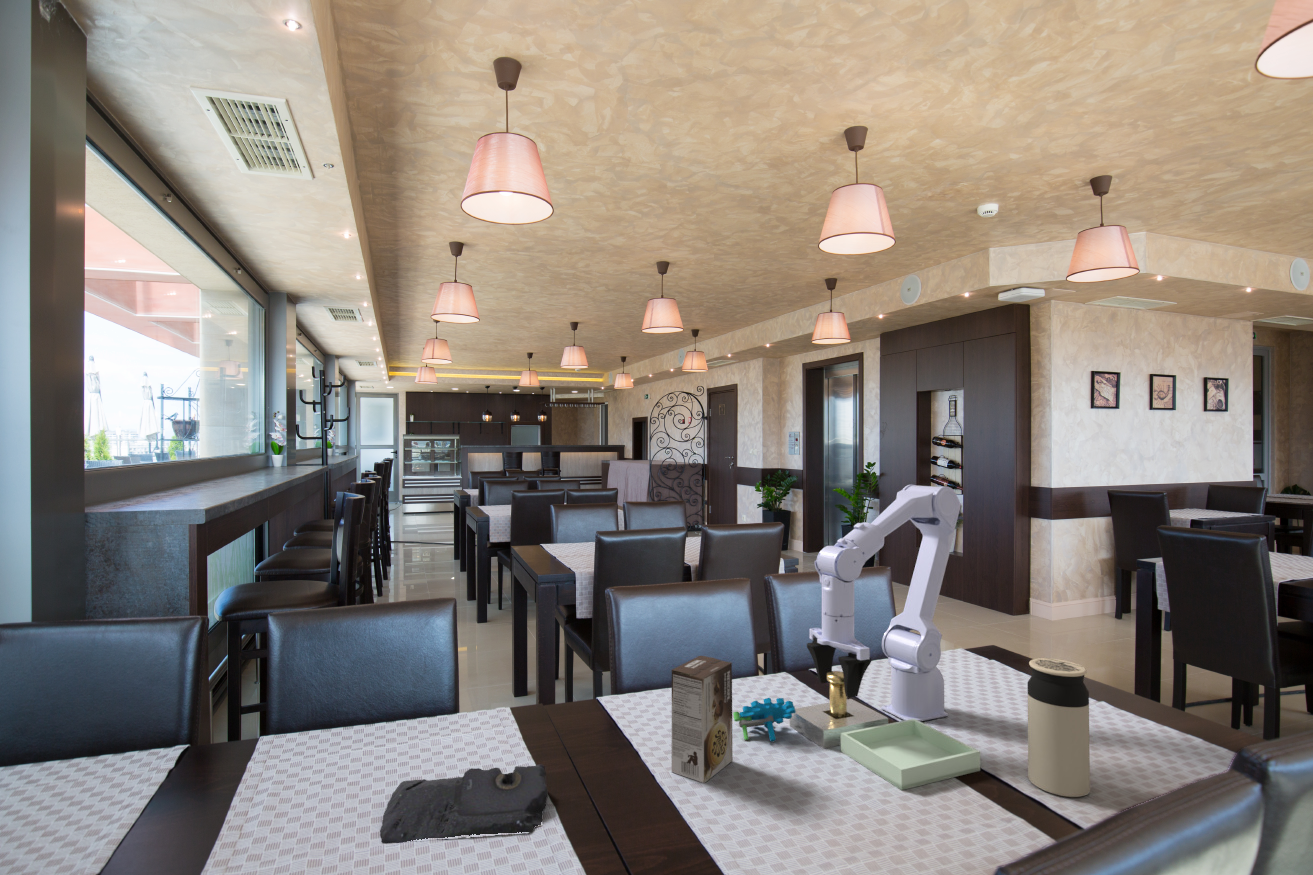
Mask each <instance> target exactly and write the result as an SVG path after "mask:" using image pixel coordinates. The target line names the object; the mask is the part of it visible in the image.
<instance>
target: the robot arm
mask: <svg viewBox="0 0 1313 875" xmlns="http://www.w3.org/2000/svg"><path fill="white" fill-rule="evenodd" d="M961 506H962V505H961V502H960V499H959V497H958V495H957V493H956V491H955V490H954V489H953V488H952V487H949V486H930V485H916V484H907V485H906V486H904V487H903V488H902V489H901V490H899V491H897V493H896V497H895V500H894V501H892V502H891V504H889V505H888V506H887V507H886V508H885V509H884V510H883V511H882V512H881V513H880V514H879V515H878V516H877V517H876V518H875V519H874V520H873V521H872V522H865V521H863V522H857V523H856V524H854V525H853V529H852V530H851V531H850V532H848V533H847V534H846V535H845V536H844V537H841V538H839V539H837V541H836V543H835V544H834V545H826V546H824V547H823V548H822V549H821V550H820V551H819V552H818V553H817V557H816V560H814V568H815V570H816V572H817V574H818V575H819V576H818V577H819V583H820V585H821V628H820V627H812V628H809V636H808V637H809V639H810V640H811V641H812V642H808V643H806V648H807V650H808V652H809V654H810V655H811V658H812V660H813V663H814V667H815V671H816V674H817V675H816V676H817V679H818V683H819V684H826V683H827V684H828V683H830V682H829V681H827V673H828V672H830V671H833V661H834V658H835V657H834V656H835V653H836V649H837V650H838V651H840V652H844V653H846V654H848V655H843V656H838V657H837V658H838V661H839V664H840V666H841V669H842V670H841V672H843V676H844V688H845V694H846V697H847V698H856V697H858V696H859V692H860V688H861V683H862V680H863V677H864V676H865V673H866V671H867V670H868V668H869V666H870V664H871V663H872V658H871V656H870V647H868V646H866V645H864V644H863V643H862V642H860V641H859V640H858V639H856V638H855V580H856V579H858V578H859V577H860V575H861V572H862V570H863V566H864V565H865V564H866V562H867V561H868V560H869V559H870V558H872V557H873V556H874V555H875V554H876V553H878V552H879V551H880V549H883V547H884V544H885V537H887V536H889V535H890V534H892V532H894V531H895V530H897V529H898V528H899V527H901V526H902V525H904V524H905V523H906V522H908V521H911V523H912V524H913V525H914V526H915V528H917V529H918V530H920V534H922V539H921V543H920V547H919V549H918V550H919V551H918V554H917V557H916V558H917V559H916V562H915V567H914V570H913V574H912V577H911V581H910V583H909V584H910V585H909V588H908V593H907V597H906V600H905V604H904V608H903V611H902V612H901V613H899V614H898V615H896V616H894V617H892V618H891V620H890V623H889V626H888V628H887V630H886V631H885V632H884V634H883V636H882V639H881V648H882V652H883V654H884V656H886V657H887V663H888V664H890V673H891V674H890V688H891V689H890V699H891V700H890V704H886V705H885V704H884V705H881V707H880V708H881V710H883V711H885V712H887V713H889V714H890V715H893V716H895V717H897V718H899V719H901V720H902V721H905V720H910V719H916V720H918V721H920V722H925V721H929V720H933V719H940V718H945V717H948V716H949V714H948V712H946V711H945V680H944V677H943V674H942V672H941V670H940V668H938V667H937V665H939V662H940V660H941V657H942V656H941V655H942V652H941V651H942V650H941V641H942V637H943V634H942V632H940V630H939V629H938V627H937V625H936V624H935V623H934V622H933V619H934V616H935V613H936V612H935V611H936V608H937V604H938V599H939V596H940V592H941V588H942V585H943V581H944V580H943V579H944V576H945V572H946V568H947V564H948V560H949V557H950V553H951V550H952V549H951V548H952V544H953V540H954V537H955V536H954V535H955V530H956V526H957V522H958V518H959V516H960V515H959V514H960V509H961ZM913 631H916V632H919V633H916V632H913Z"/></svg>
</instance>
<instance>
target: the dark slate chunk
mask: <svg viewBox="0 0 1313 875" xmlns="http://www.w3.org/2000/svg"><path fill="white" fill-rule="evenodd" d="M546 775H547V772H546V766H544V764H540V763H538V764H536V765H529V766H528V765H527V766H522V765H521V766H517V765H516V766H515V767H514V770H513V772H509V773H503V771H502V770H501V768H500V767H493V768H489V769H482V768H479V767H478V768H471V767H470V768H469V769H467V770H466V771H465V772H464V773H463V776H457V777H451V778H450V777H449V778H438V779H430V780H427V779H426V778H425V779H413V780H404V781H401V782H400V783H399V784H398V786H397V787H396V788H395V790H394V791H393V792H392V794H391V797H390V799H389V801H388V802H387V805H386V808H385V811H384V812H383V816H382V820H381V821H382V822H381V827H380V829H379V833H380V834H379V836H380V837H381V843H384V844H392V843H393V844H404V843H408V842H407V841H410V842H414V841H413V840H416V839H417V840H419V839H421V840H422V839H425V838H426V839H428V838H445V837H447V838H448V837H455V836H461V835H469V836H470V835H472V834H473V835H474V834H476V835H480V834H498V833H517V832H518V833H519V832H521V833H522V832H531V833H532V832H533V831H534V829H535V828H536V827H535V826H538V825H541V822H542V821H543V819H542V812H544V810H545V809H546V808H547V800H548V797H549V791H548V786H547V779H546ZM534 827H535V828H534ZM411 840H412V841H411ZM403 842H404V843H403Z"/></svg>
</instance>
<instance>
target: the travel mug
mask: <svg viewBox="0 0 1313 875" xmlns="http://www.w3.org/2000/svg"><path fill="white" fill-rule="evenodd" d="M1028 664H1029V666H1030V668H1031V674H1032V675H1031V676H1030V677H1029V679H1028V681H1027V764H1028V765H1027V767H1028V768H1027V770H1028V771H1027V772H1028V773H1027V775H1028V776H1027V777H1028V780H1029V781H1030V782H1031V783H1032V784H1033V785H1034V786H1036V787H1037V788H1039V789H1040V790H1043V791H1045V792H1047V793H1049V794H1052V795H1056V796H1059V797H1065V798H1067V797H1068V798H1079V797H1084V796H1086V795H1089V794H1090V792H1091V778H1090V775H1091V772H1090V771H1091V768H1090V767H1091V765H1090V764H1091V762H1090V757H1091V756H1090V753H1091V752H1090V751H1091V750H1090V694H1089V693H1090V691H1089V689H1088V688H1087V686H1086V684H1085V683H1084V680H1085V679H1084V678H1085V676H1086V674H1087V672H1088V671H1087V669H1086V668H1085V667H1084V666H1083V665H1081V664H1079V663H1075V662H1072V661H1069V660H1063V659H1058V658H1048V657H1043V658H1041V657H1040V658H1033V659H1031V660H1030V661H1029V662H1028Z"/></svg>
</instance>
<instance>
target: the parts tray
mask: <svg viewBox="0 0 1313 875" xmlns="http://www.w3.org/2000/svg"><path fill="white" fill-rule="evenodd" d="M840 752H841V753H843V754H844V755H846V756H847V757H849V758H850V759H852V760H854V761H855V762H857V763H858V764H859V765H861V766H863V767H864V768H866V769H867V770H869V771H871V772H872V773H874V774H875V775H877V776H879V777H880V778H881V779H884V780H885V781H886V782H888V783H890V784H891V785H892V786H894V787H896V788H897V789H898V790H901V791H904V790H908V789H912V788H915V787H919V786H924V785H928V784H932V783H935V782H939V781H940V782H941V781H944V780H949V779H952V778H956V777H959V776H960V777H961V776H963V775H967V774H972V773H977V772H980V771H981V751H980V750H978V749H976V748H975V747H972V746H970V745H968V744H966V743H964V742H962V741H960V740H958V739H956V738H954V737H952V736H950V735H948V734H946V733H944V732H942V731H939V730H938V729H936V728H934V727H932V726H930V725H927V724H926V723H924V722H923V721H918V720H916V719H910V720H901V721H896V722H890V723H888V724H885V725H880V726H875V727H870V728H865V729H859V730H854V731H849V732H844V733H841V745H840Z"/></svg>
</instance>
